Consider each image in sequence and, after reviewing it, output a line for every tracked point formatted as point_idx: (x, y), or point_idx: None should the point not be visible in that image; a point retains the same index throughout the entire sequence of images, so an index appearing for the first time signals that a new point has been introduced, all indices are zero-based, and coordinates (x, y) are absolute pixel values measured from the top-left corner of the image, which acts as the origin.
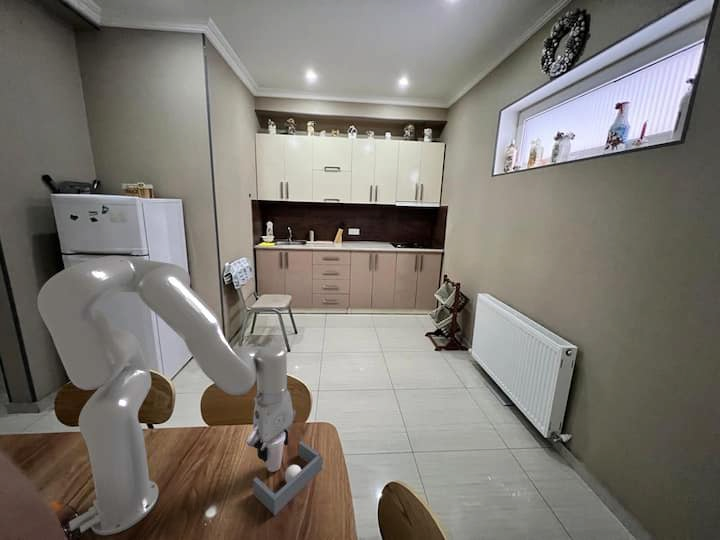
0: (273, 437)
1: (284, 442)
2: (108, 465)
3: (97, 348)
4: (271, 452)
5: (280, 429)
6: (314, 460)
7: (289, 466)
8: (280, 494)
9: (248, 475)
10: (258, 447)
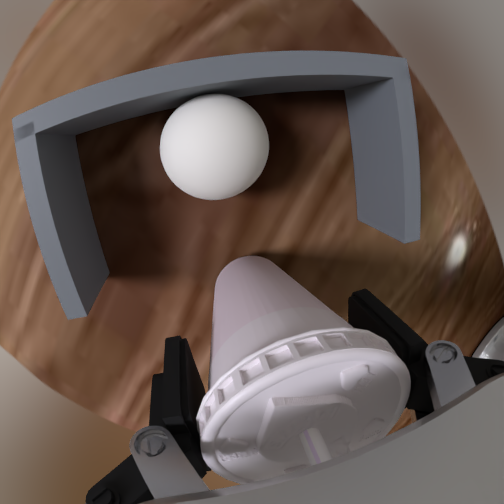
0: (335, 423)
1: (190, 361)
2: None
3: None
4: (342, 319)
5: (369, 499)
6: (68, 105)
7: (223, 189)
8: (373, 54)
9: (340, 311)
10: (471, 363)
